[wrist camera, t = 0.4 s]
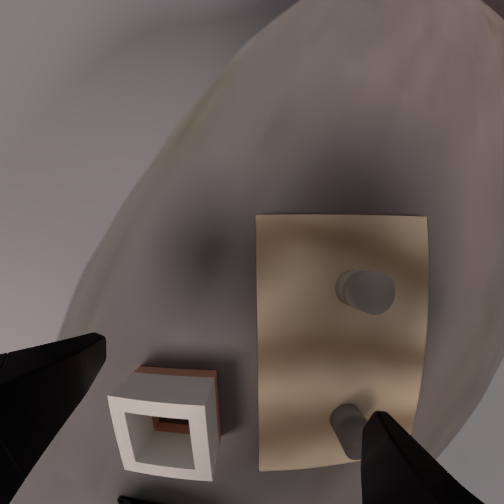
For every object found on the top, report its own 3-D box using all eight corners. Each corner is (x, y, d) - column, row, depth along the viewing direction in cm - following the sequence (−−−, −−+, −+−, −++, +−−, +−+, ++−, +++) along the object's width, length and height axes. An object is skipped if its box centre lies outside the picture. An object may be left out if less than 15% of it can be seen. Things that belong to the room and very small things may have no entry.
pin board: (401, 443, 20) (428, 475, 15) (259, 463, 20) (260, 506, 15) (418, 218, 21) (459, 207, 16) (255, 217, 21) (256, 201, 16)
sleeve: (221, 436, 21) (212, 481, 15) (149, 430, 21) (124, 469, 15) (216, 370, 21) (204, 405, 15) (140, 365, 21) (107, 395, 15)
